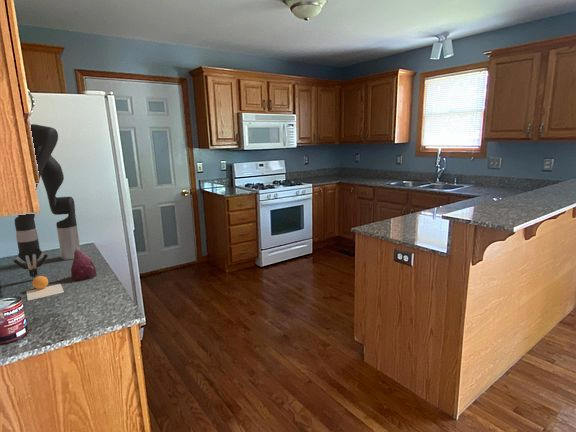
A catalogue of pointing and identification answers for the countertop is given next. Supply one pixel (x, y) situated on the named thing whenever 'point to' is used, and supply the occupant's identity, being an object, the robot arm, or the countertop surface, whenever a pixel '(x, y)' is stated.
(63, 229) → the robot arm
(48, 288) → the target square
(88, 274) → the vegetable
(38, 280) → the ball
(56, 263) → the countertop surface
